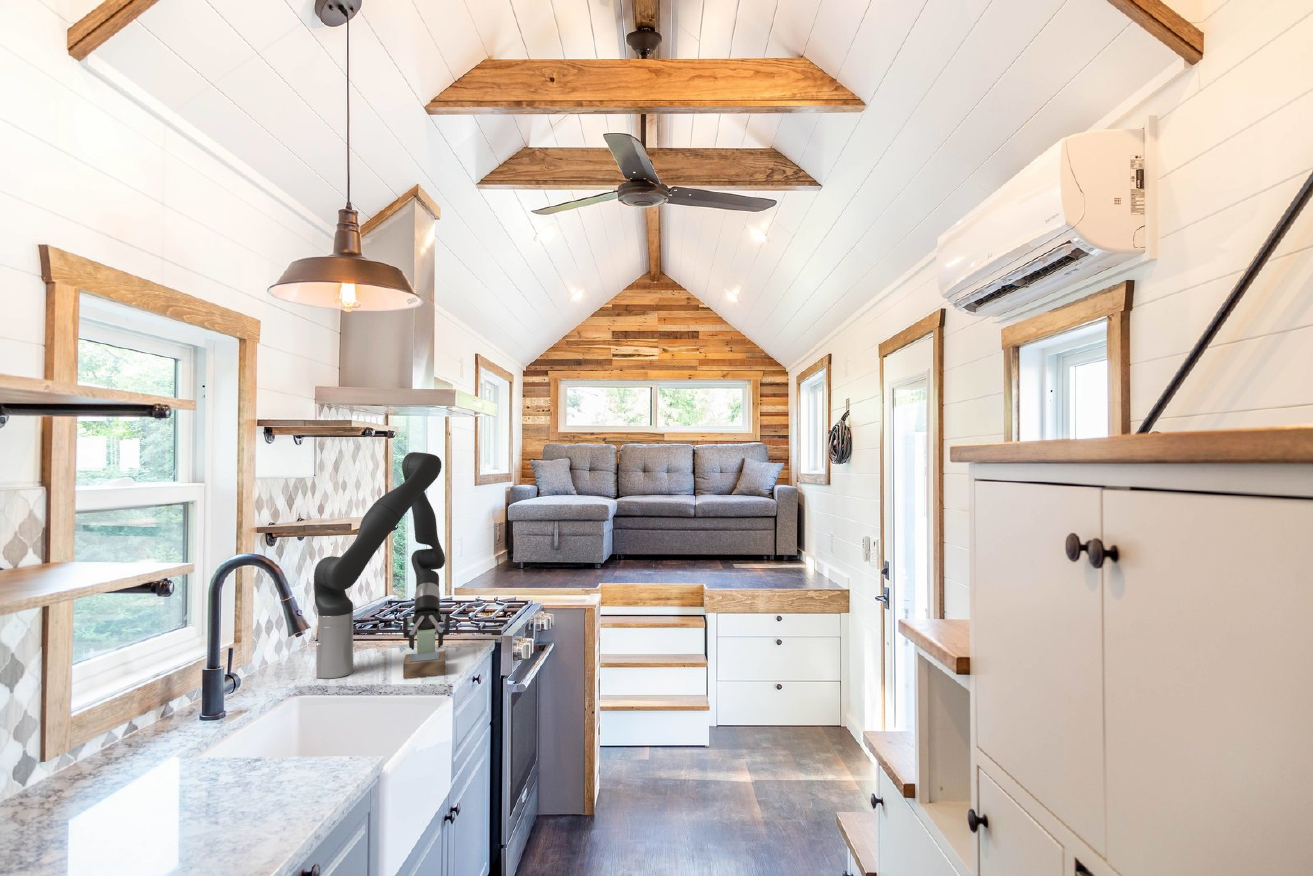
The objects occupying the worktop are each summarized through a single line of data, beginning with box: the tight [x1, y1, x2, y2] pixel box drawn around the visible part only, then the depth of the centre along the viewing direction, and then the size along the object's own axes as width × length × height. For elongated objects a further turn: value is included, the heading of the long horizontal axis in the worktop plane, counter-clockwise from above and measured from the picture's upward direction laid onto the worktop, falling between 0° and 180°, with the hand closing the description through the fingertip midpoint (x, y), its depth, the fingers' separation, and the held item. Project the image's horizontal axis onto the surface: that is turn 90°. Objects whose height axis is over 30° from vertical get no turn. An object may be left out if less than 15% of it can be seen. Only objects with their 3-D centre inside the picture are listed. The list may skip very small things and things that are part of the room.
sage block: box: [416, 629, 436, 654], centre depth 215 cm, size 5×5×9 cm
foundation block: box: [402, 650, 446, 679], centre depth 204 cm, size 11×11×4 cm
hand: (426, 647), depth 214 cm, fingers open, 7 cm apart
